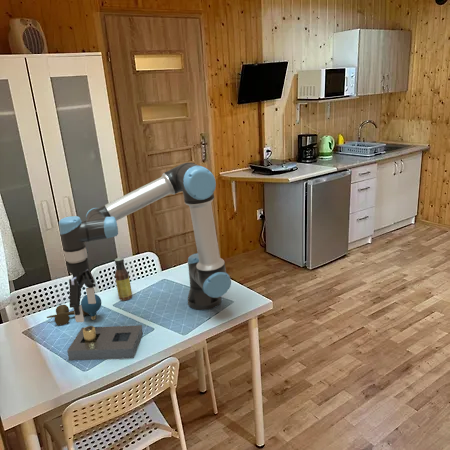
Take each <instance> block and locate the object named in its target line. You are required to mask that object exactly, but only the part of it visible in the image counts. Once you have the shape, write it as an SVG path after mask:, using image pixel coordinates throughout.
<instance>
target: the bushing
mask: <svg viewBox="0 0 450 450" xmlns="http://www.w3.org/2000/svg"><path fill="white" fill-rule="evenodd" d="M95 327H96V326H94V325H88V326H85V328H84V329H83V335H84V340H85V343H91V342H96V341H97V338H96V332H95Z"/></svg>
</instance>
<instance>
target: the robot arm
mask: <svg viewBox="0 0 450 450" xmlns="http://www.w3.org/2000/svg"><path fill="white" fill-rule="evenodd" d="M216 187H217V183H216V178H215V175H214V174H213V173H212V172H211V171H210V170H209V169H208V168H206V167H205V166H202V165H199V164H196V163H195V162H184V163H181V164H179V165H177V166H175V167H173V168H170V169H169V170H167V171H165V172H163V173H162V175H161V177H158V178H157V179H155V180H152V181H150V182H149V183H147V184H145V185H142V186H140V187H138V188H137V189H134V190H132V191H130V192H129V193H126V194H124V195H122V196H120V197H118V198H116V199H114V200H113V201H110V202H108V203H106V204H104V205H102V206H100V207H92V208H91V209H89V210H88V211H87V213H86V214H85V220H82V219H81V217H80V216H77V215H73V216H66V217H63V218H61V219H60V220H59V221H58V229H59V235H60V239H61V240H60V241H61V244H62V248H63V249H62V250H63V252H62V254H63V255H64V260H65V261H66V262H65V264H66V265H65V266H66V271H67V272H68V273H69V274H71V275H72V277H71V278H69V280H68V285H69V309H72V310H73V311H74V314H75V315H74V318H75V323H84V322H85V316H84V315H83V312H82V306H81V295H82V288H83V287H84V285H85V286H86V288H85V290H86V295H87V298H88V303H89V304H95V303H96V300H95V289H94V288H95V287H97V286H96V285H97V284H96V281H95V278H94V276H93V273H92V272H91V270H90V264H89V259H88V253H87V252H88V251H87V247H86V243H87V242H94V241H100V240H105V239H110V238H115V237H117V236H118V235H119V228H118V227H119V226H118V223H117V221H119V220H121V219H122V218H125V217H127V216H130V215H131V214H133V213H135V212H137V211H139V210H141V209H143V208H145V207H147V206H148V205H151V204H153V203H155V202H157V201H158V200H161V199H163V198H165V197H166V196H169V195H176V194H178V193H181V192H182V195H183V196H182V197H183V203H184V204H185V205H186V206H188V207H189V212H190V217H191V223H192V229H193V234H194V240H195V246H196V251H197V252H196V253H193V254H191V255H189V256H188V258H187V267H188V275H189V277H188V278H189V286H190V287H189V291H188V295H187V305H188V307H190V308H191V309H193V310H196V311H197V310H198V311H207V310H212V309H214V308H216V307H218V306H220V305H221V303H222V296H224V295H226V294H227V293H228V291H230V288H231V286H232V278H231V276H230V275H229V274H228V273H227V270H226V262H225V260H224V259H223V258H221V256H220V248H219V242H218V237H217V236H218V235H217V231H216V224H215V219H214V213H213V206H212V202H213V201H214V199H215V194H214V192H215V190H216Z"/></svg>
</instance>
